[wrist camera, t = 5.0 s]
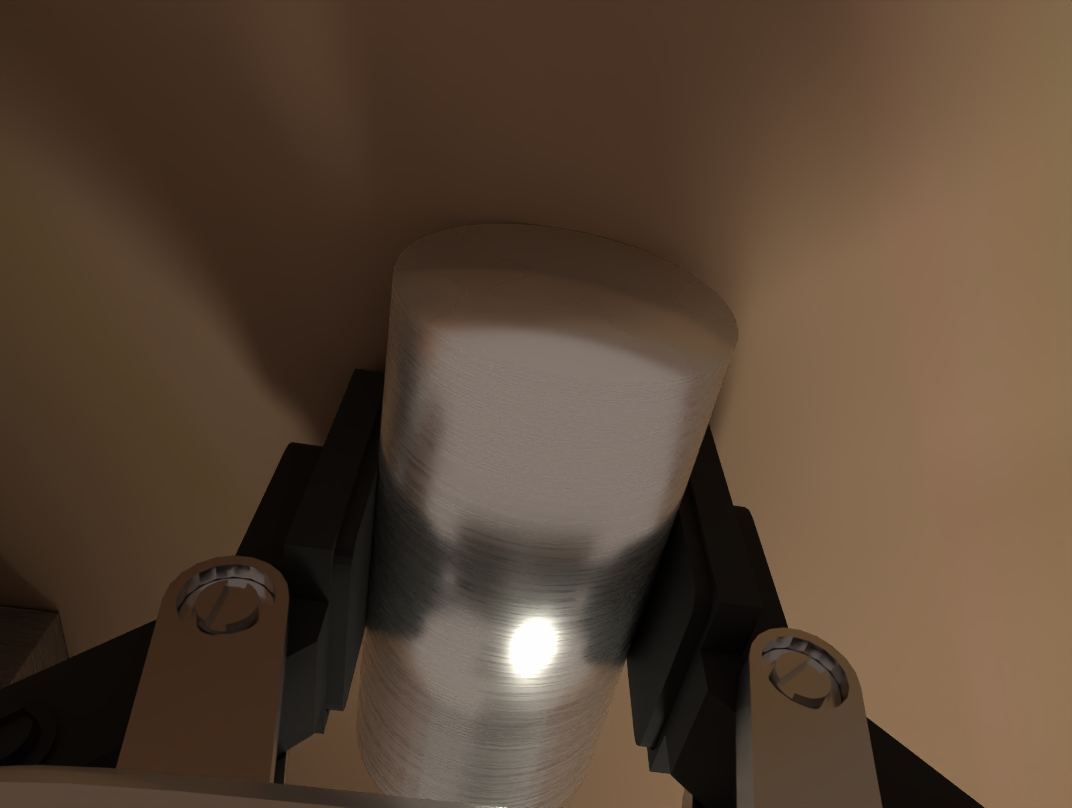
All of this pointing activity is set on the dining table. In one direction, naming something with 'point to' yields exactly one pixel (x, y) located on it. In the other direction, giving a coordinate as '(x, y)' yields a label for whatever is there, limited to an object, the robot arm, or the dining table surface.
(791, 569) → the dining table surface
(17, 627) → the track
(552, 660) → the roller
